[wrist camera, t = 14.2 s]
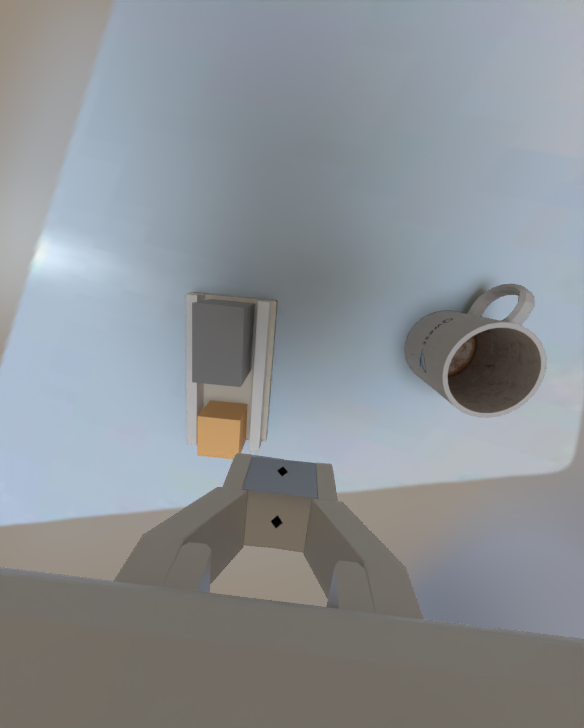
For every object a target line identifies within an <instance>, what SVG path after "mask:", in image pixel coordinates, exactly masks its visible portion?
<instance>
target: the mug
mask: <svg viewBox="0 0 584 728" xmlns="http://www.w3.org/2000/svg"><path fill="white" fill-rule="evenodd" d="M505 295H518V296H519V297H518V303H517V305H516V307H515V308H514V310H513V311H512V312H511V313H510V314H509V315H508V316H507V318H505V319H504V320H501V321H499V320H494V319H489V318H484V317H481V315H482V314H483V312H484V310H485V309H486V308H487V306H489V305H490V304H491V303H492V302H493V301H494V300H496V299H498V298H499V297H502V296H505ZM533 308H534V296H533V294H532V293H531V292H530V291H529V290H528V289H526V288H525V287H523V286H521V285H516V284H503V285H500V286H497V287H494V288H492V289H490V290H488V291H487V292H485V293H484V294H482V295H481V296H480V297H479V298H478V299H477V300H476V301H475V302H474V303H473V305H472V306H471V308H470V310H469V312H468V313H467V314H464V313H459V312H454V311H439V312H434V313H432V314H429V315H427V316H426V317H424V318H422V319H421V320H420V321H419V322H417V323H416V324H415V326H414V327H413V328H412V329H411V331H410V333H409V335H408V337H407V340H406V343H405V357H406V360H407V363H408V365H409V367H410V368H411V370H412V371H413V372H414V373H415V374H416V375H418V376H419V377H420V378H421V379H422V380H424V381H425V382H426V383H427V384H428V385H430V386H431V387H432V388H433V389H434V390H436V391H437V392H438V393H439V394H440V395H442V396H443V397H444V398H445V399H446V400H448V401H449V402H450V403H451V404H452V405H454V406H455V407H456V408H457V409H459V410H460V411H462V412H464V413H466V414H468V415H471V416H476V417H487V418H490V417H496V416H501V415H504V414H507V413H510V412H512V411H514V410H516V409H518V408H519V407H521V406H522V405H523V404H525V403H526V402H527V401H528V400H529V399H530V398H531V397H532V396H533V395H534V394H535V392H536V391H537V390H538V388H539V387H540V385H541V383H542V380H543V378H544V375H545V371H546V360H547V359H546V353H545V349H544V347H543V345H542V343H541V341H540V340H539V338H538V337H537V336H536V335H535V334H534V333H533V332H532V331H530V330H529V329H527V328H525V327H523V326H521V325H522V324H523V323H524V321H525V320H526V319H527V318H528V317H529V315H530V313H531V311H532V310H533Z"/></svg>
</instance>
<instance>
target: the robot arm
mask: <svg viewBox="0 0 584 728" xmlns="http://www.w3.org/2000/svg"><path fill="white" fill-rule="evenodd" d="M243 545H247V546H257V547H269V548H277V549H283V550H290V551H297V552H303V553H304V556H305V558H306V560H307V561H308V563H309V565H310V567H311V569H312V571H313V573H314V575H315V576H316V578H317V580H318V582H319V584H320V586H321V587H322V589H323V591H324V593H325V595H326V597H327V599H328V602H327V607H321V606H313V605H304V604H296V603H289V602H280V601H272V600H264V599H256V598H248V597H240V596H232V595H223V594H215V593H210V584H211V583H212V582H213V581H214V580H215V579H216V577H217V576H218V575H219V574H220V573H221V572H222V571H223V569H224V568H225V567H226V566H227V565H228V564H229V563H230V562H231V560H232V559H233V558H234V557H235V556H236V555H237V554H238V552H239V551H240V550H241V549H242V548H243ZM0 728H584V639H580V638H572V637H564V636H556V635H548V634H540V633H532V632H524V631H516V630H507V629H499V628H491V627H483V626H474V625H466V624H458V623H449V622H441V621H433V620H425V619H424V618H423V615H422V613H421V610H420V607H419V604H418V601H417V598H416V596H415V592H414V590H413V587H412V584H411V581H410V578H409V575H408V573H407V570H406V567H405V566H404V565H403V564H402V563H401V562H400V561H399V560H398V559H397V558H396V557H395V556H394V555H393V554H392V553H391V551H389V549H388V548H386V546H385V545H384V544H383V543H382V542H381V541H380V540H379V539H378V538H377V537H376V536H375V535H374V534H373V533H372V532H371V531H370V530H369V529H368V528H367V527H366V526H365V525H364V524H363V522H361V521H360V519H359V518H358V517H357V516H356V515H355V514H354V513H353V512H352V511H351V510H350V509H349V508H348V507H347V506H346V505H345V504H344V503H343V502H339V501H338V499H337V493H336V486H335V480H334V473H333V467H332V465H331V464H326V463H311V462H301V461H291V460H284V459H278V458H271V457H264V456H257V455H250V454H241V453H237V454H236V455H235V456H234V459H233V462H232V464H231V467H230V469H229V472H228V474H227V477H226V479H225V482H224V485H223V487H217V488H215V489H214V490H212V491H210V492H209V493H207V494H206V495H204V496H203V497H201V498H199V499H198V500H196V501H195V502H193V503H192V504H190V505H189V506H187V507H185V508H184V509H182V510H181V511H179V512H178V513H176V514H174V515H173V516H171V517H170V518H168V519H167V520H165V521H164V522H162V523H160V524H159V525H157V526H156V527H154V528H153V529H151V530H149V531H148V532H147V533H145V534H143V535H142V537H141V539H140V540H139V542H138V543H137V545H136V547H135V548H134V550H133V551H132V553H131V554H130V556H129V558H128V559H127V561H126V562H125V564H124V565H123V567H122V569H121V570H120V572H119V573H118V575H117V577H116V578H115V580H114V581H109V580H101V579H93V578H85V577H77V576H69V575H61V574H53V573H45V572H36V571H27V570H20V569H12V568H4V567H0Z"/></svg>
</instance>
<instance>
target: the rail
mask: <svg viewBox="0 0 584 728" xmlns="http://www.w3.org/2000/svg"><path fill="white" fill-rule="evenodd" d="M209 299H216V300H226V301H237V302H247V303H255V311H254V328H253V346H252V363H251V371H250V373H249V374H248V376H247V378H246V379H245V381H244V383H243V384H242V386H241V387H233V386H223V385H214V384H204V383H194V382H192V303H193V302H198V301H204V300H209ZM276 312H277V301H275V300H265V299H255V298H245V297H235V296H225V295H214V294H204V293H194V292H191V293H189V294H186V393H187V444H194V445H197V455H199V456H208V457H218V458H227V459H234V456H235V455H236V454H237V453H241V451H242V449H243V446H244V443H245V441H246V440H250V442H249V450H250V451H259V449H260V445H261V441H265V442H266V438H267V427H268V414H269V401H270V388H271V376H272V363H273V350H274V337H275V324H276Z"/></svg>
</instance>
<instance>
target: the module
mask: <svg viewBox="0 0 584 728" xmlns="http://www.w3.org/2000/svg"><path fill="white" fill-rule="evenodd" d="M254 311H255V303H247V302H237V301H226V300H216V299H209V300H204V301H198V302H193V303H192V382H194V383H204V384H214V385H223V386H233V387H241V386H242V384H243V383H244V381H245V379H246V378H247V376H248V374H249V373H250V371H251V363H252V346H253V328H254Z"/></svg>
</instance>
